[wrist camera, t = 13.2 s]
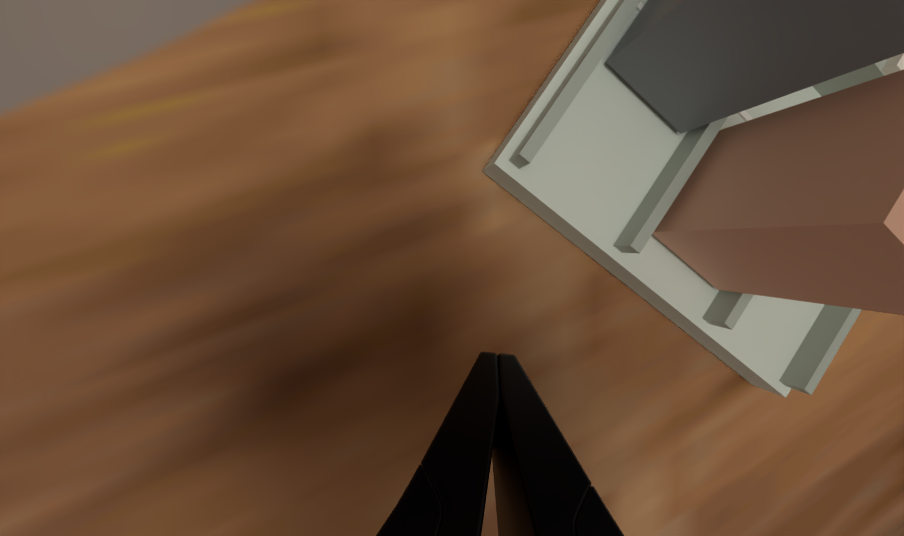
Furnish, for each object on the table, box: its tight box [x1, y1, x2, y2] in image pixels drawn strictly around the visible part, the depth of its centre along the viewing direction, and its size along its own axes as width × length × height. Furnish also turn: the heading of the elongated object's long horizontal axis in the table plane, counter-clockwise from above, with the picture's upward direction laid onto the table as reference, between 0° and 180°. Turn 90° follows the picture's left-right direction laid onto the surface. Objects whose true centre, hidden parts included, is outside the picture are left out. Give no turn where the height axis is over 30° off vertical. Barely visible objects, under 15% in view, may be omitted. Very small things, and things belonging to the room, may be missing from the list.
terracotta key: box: [653, 69, 904, 315], centre depth 14 cm, size 6×5×8 cm
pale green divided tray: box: [482, 0, 904, 397], centre depth 18 cm, size 15×21×5 cm
